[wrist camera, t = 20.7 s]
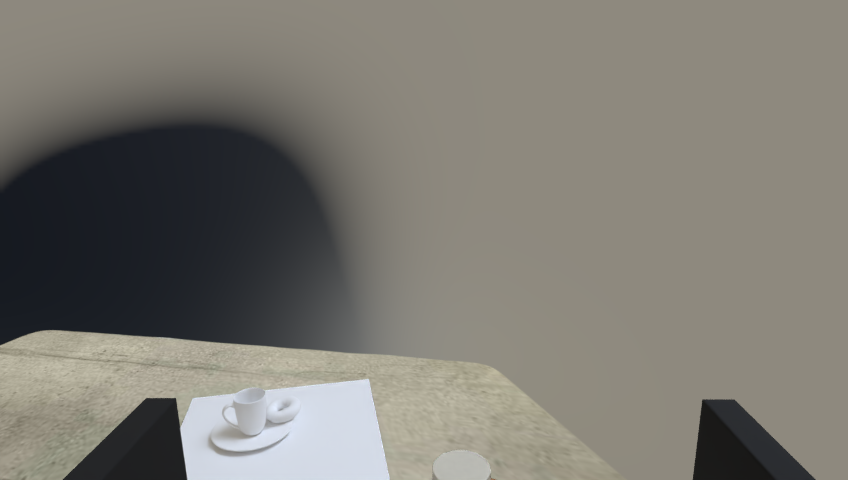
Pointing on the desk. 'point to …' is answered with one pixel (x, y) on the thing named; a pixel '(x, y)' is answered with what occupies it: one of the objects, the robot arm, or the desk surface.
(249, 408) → the teacup and saucer
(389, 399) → the desk surface
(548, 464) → the desk surface
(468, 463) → the ivory piece
